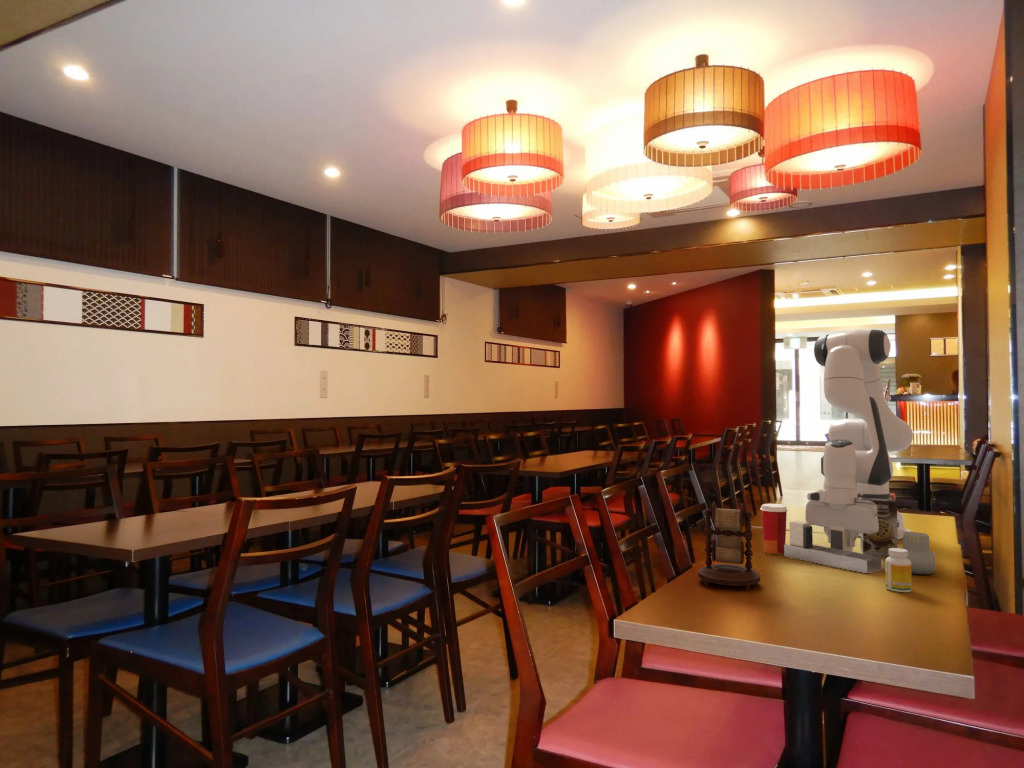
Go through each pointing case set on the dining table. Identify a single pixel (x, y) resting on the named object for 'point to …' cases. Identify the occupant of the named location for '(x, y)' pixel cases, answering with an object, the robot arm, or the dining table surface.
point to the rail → (826, 551)
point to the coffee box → (882, 529)
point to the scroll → (728, 548)
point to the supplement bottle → (898, 570)
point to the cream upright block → (839, 538)
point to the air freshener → (919, 552)
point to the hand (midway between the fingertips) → (841, 544)
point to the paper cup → (774, 527)
